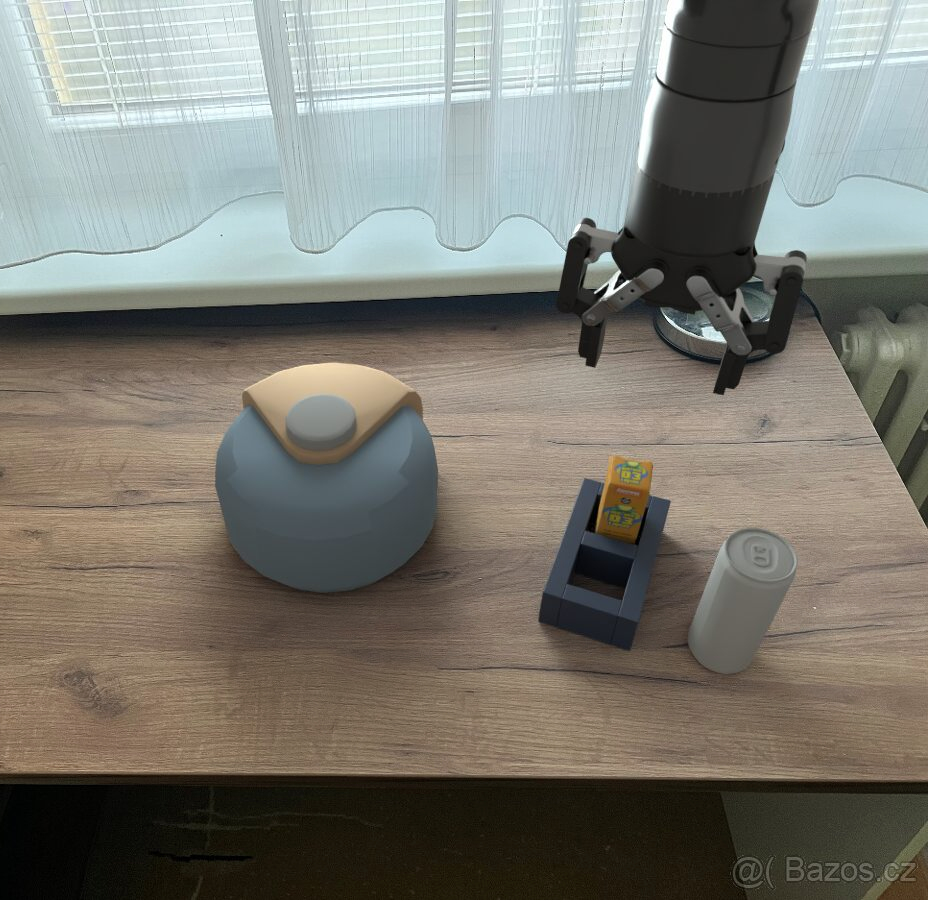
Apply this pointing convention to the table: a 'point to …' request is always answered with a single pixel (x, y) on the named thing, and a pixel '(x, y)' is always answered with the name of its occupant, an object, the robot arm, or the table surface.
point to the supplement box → (624, 499)
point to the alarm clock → (328, 476)
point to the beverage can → (741, 599)
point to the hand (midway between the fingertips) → (655, 373)
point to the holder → (602, 572)
